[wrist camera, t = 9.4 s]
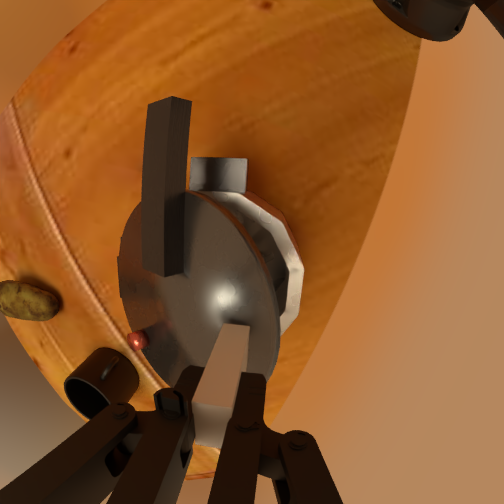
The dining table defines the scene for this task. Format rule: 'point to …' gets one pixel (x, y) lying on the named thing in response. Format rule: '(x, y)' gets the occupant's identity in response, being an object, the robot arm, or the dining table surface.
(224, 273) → the lid
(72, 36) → the dining table surface
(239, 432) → the robot arm
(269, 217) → the pot
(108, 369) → the mug
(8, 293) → the potato
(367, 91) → the dining table surface
